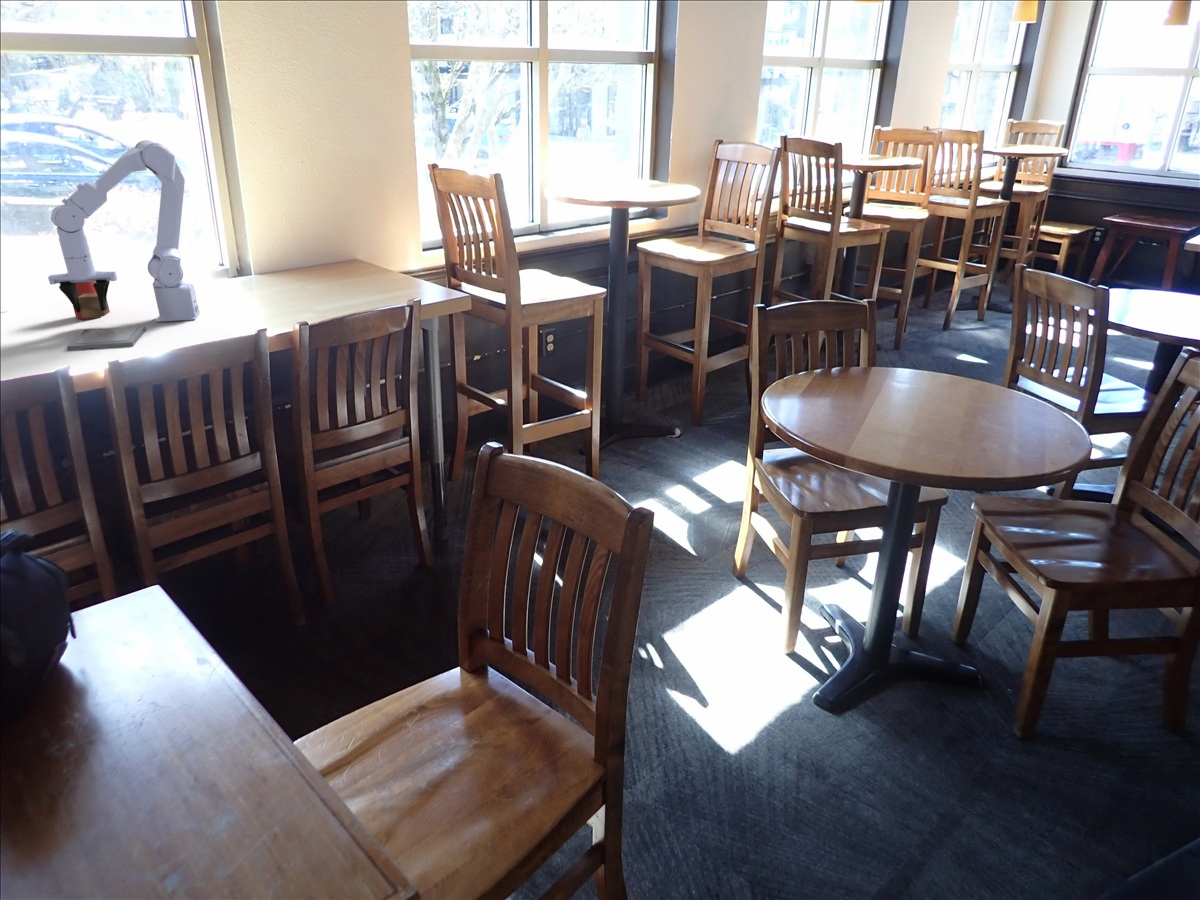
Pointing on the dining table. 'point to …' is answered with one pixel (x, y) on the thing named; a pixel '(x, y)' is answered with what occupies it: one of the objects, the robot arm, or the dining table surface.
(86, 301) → the walnut block
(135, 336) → the coaster
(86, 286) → the beer can
